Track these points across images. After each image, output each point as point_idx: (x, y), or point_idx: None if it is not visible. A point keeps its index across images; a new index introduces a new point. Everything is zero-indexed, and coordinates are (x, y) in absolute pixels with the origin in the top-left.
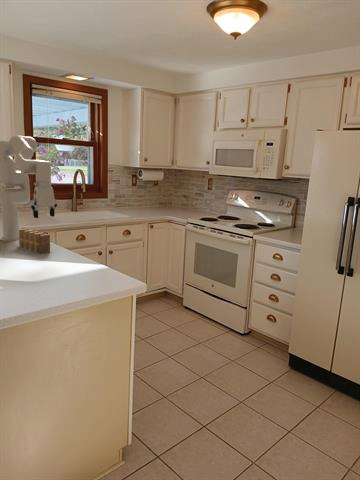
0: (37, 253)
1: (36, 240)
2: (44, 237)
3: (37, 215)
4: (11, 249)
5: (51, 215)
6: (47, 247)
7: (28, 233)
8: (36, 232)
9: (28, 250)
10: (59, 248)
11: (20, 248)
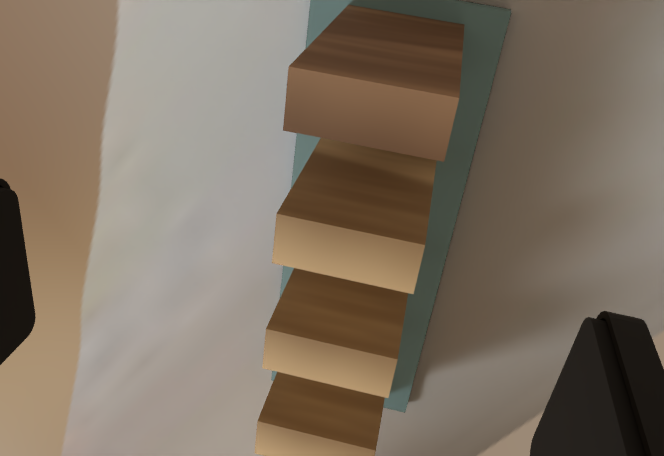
0: (483, 79)
1: (429, 196)
2: (404, 75)
3: (649, 375)
4: (464, 402)
5: (12, 269)
6: (376, 24)
7: (343, 416)
8: (309, 334)
9: (436, 248)
10: (124, 103)
11: (420, 353)
